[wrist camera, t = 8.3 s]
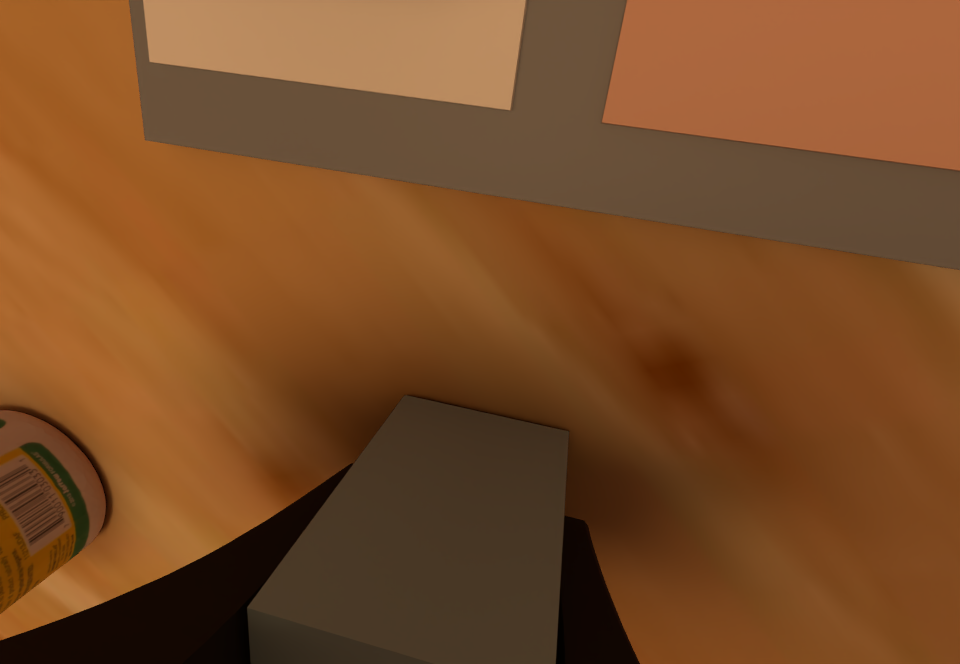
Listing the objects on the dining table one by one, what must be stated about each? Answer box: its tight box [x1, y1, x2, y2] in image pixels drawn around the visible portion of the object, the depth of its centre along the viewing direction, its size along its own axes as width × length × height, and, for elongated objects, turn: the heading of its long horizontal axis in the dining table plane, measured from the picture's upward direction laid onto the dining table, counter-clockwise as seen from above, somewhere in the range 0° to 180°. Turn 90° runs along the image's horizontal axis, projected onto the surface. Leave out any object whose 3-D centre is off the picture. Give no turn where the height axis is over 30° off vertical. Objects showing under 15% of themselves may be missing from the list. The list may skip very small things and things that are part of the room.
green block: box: [247, 395, 569, 664], centre depth 10 cm, size 4×4×6 cm
